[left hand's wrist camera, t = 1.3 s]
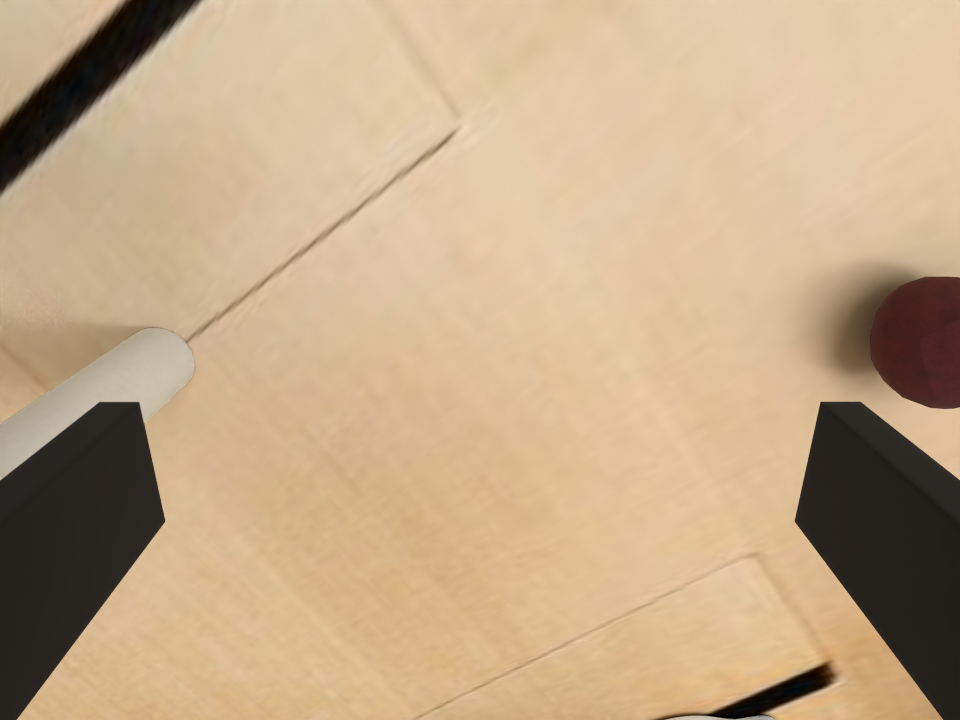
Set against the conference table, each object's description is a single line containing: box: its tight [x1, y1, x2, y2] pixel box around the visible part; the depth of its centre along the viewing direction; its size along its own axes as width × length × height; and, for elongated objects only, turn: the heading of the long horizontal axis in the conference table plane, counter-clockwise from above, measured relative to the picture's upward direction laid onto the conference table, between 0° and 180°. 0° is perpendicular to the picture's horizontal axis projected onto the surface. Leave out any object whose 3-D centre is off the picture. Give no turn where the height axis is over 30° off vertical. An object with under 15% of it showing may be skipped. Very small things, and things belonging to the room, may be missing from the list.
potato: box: [870, 277, 960, 409], centre depth 38 cm, size 7×8×7 cm
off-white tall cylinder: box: [0, 328, 195, 479], centre depth 33 cm, size 4×4×18 cm
